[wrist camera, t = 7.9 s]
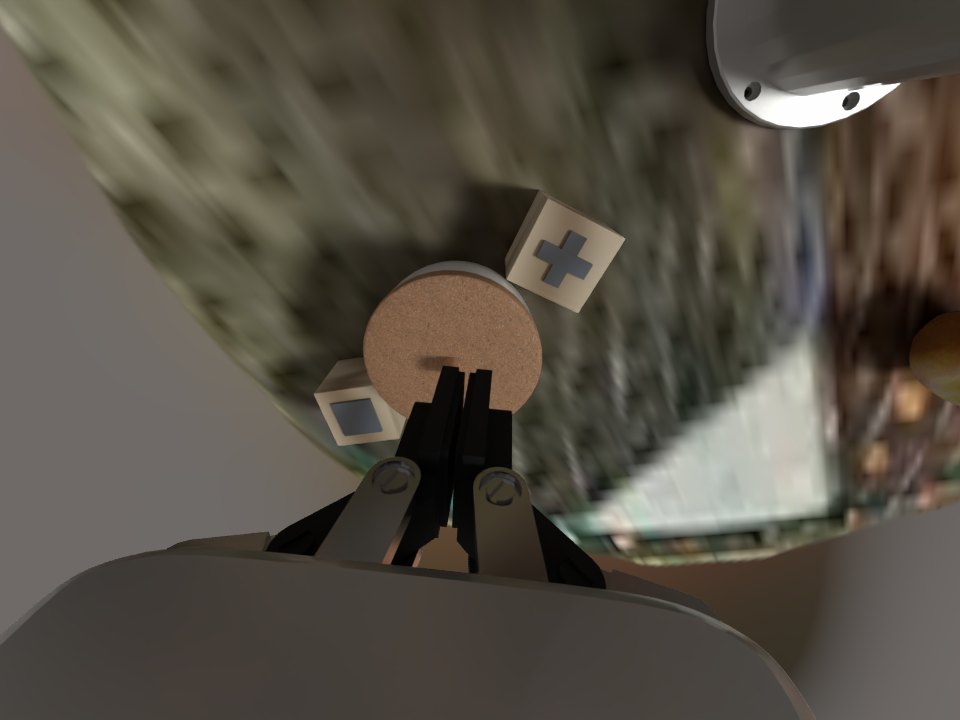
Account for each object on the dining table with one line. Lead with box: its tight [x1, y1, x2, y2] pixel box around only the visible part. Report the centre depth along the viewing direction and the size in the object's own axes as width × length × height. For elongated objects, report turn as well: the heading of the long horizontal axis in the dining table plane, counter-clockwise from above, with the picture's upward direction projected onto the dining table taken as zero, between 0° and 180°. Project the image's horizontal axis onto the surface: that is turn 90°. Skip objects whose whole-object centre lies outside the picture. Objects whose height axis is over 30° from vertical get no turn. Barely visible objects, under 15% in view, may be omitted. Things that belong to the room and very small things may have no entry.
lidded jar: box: [363, 261, 542, 419], centre depth 25 cm, size 11×11×9 cm
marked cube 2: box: [505, 190, 625, 313], centre depth 24 cm, size 5×5×5 cm
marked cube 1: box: [314, 357, 406, 446], centre depth 31 cm, size 5×5×5 cm
